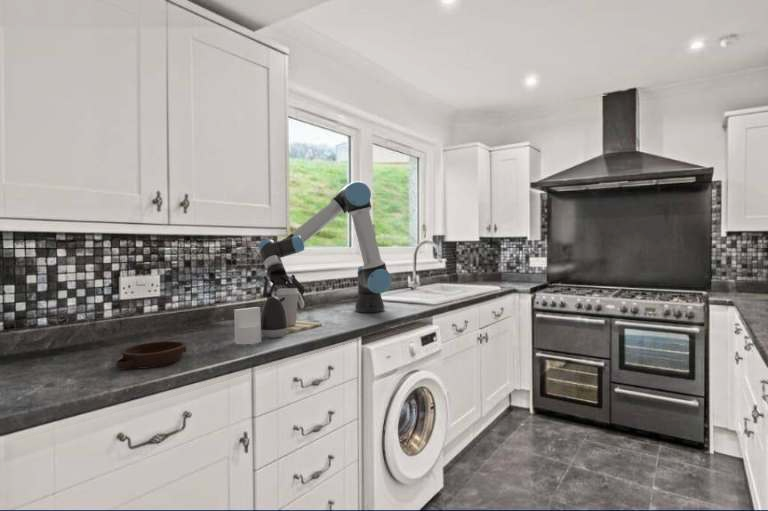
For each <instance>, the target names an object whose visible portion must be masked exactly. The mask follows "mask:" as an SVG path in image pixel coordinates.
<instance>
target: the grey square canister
mask: <svg viewBox="0 0 768 511" xmlns="http://www.w3.org/2000/svg"><path fill="white" fill-rule="evenodd" d="M233 313H234V314H233V315H234V317H233V319H234V344H235V343H236V344H235V345H237V344H251V345H256V344H255V343H257V344H260V343H262V333H261V321H260V317H261V307H259V306H254V307H253V306H252V307H245V308H237V309H233ZM259 342H260V343H259Z"/></svg>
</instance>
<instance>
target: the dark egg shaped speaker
mask: <svg viewBox="0 0 768 511" xmlns="http://www.w3.org/2000/svg"><path fill="white" fill-rule="evenodd" d="M284 300H285V298H284V297H283V298H281V299H278V298H277V297H276V296H275V297H269V298H268V299H267V298H266V300H265V302H264V304H263V305H262V306H263V307H262V309H261V311H260V321H261V335H262V336H264V338H267V339H279V338H282V337H283V336H284V335H286V334H285V332H286V328H287V318H286V313H285V310H284V307H283V305H282V303H281V302H283V301H284Z"/></svg>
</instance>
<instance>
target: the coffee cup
mask: <svg viewBox="0 0 768 511" xmlns="http://www.w3.org/2000/svg"><path fill="white" fill-rule="evenodd" d="M298 294H299V291H298V289H297V288H288V287H283V288H278V289H277V291H276V292H275V295H276V296H277V298H278V299H281V298H283V297H284V298H285V300H284V301H283V302H281V303H282V305H283V307H284V310H285V313H286V318H287V326H293V325H296V321H297V314H298V313H297V312H298V303H299V301H298Z"/></svg>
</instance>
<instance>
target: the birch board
mask: <svg viewBox="0 0 768 511" xmlns="http://www.w3.org/2000/svg"><path fill="white" fill-rule="evenodd" d="M322 326H323V323H321V322H313V321H312V322H311V321H303V320H296V325H293V326H287V328H286V332H285V334H284V335H289V334H292V333H298V332H302V331H306V330H310V329H315V328H318V327H319V328H320V327H322Z"/></svg>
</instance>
